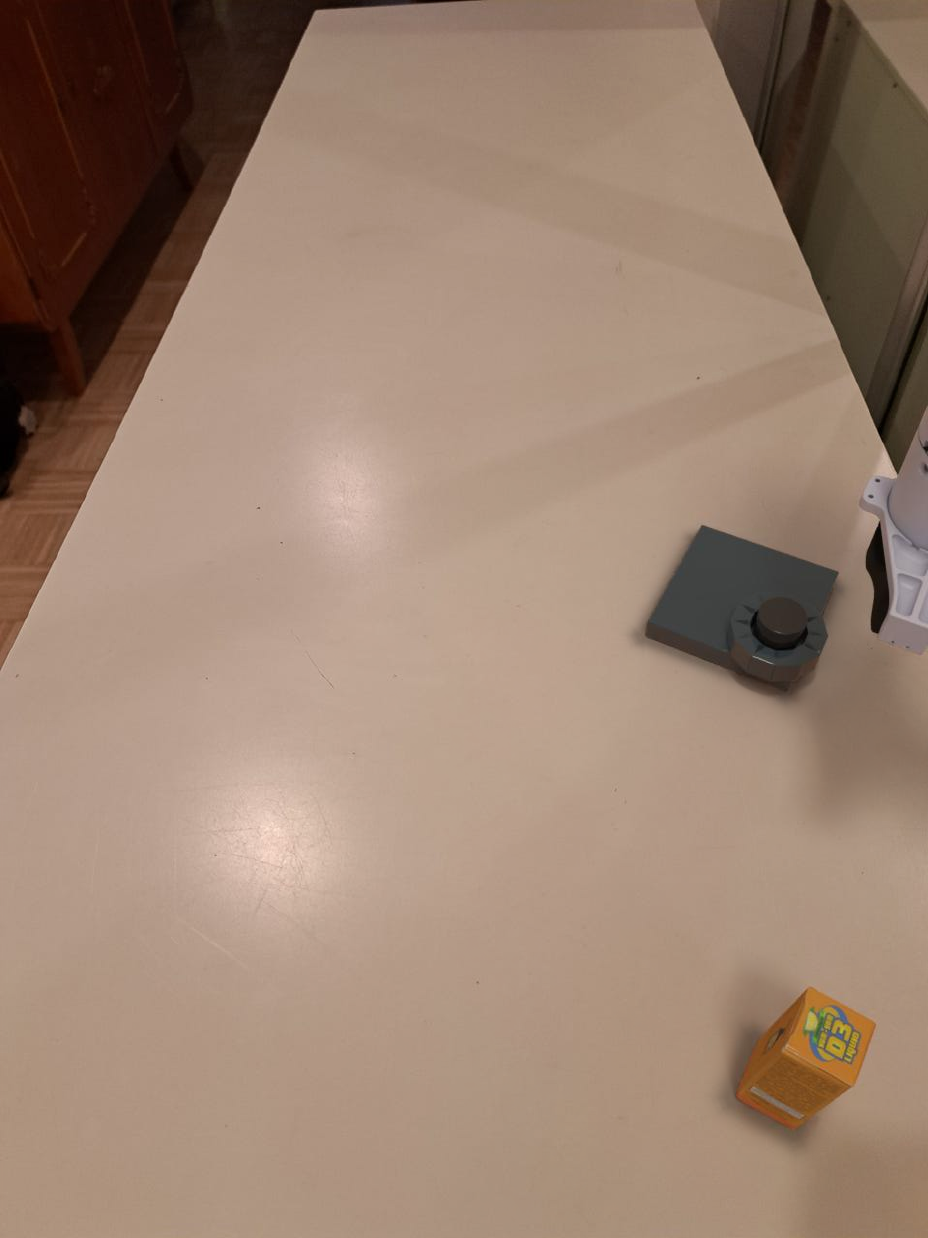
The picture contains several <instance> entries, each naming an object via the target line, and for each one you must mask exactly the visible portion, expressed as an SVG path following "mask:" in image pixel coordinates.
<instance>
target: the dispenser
mask: <svg viewBox="0 0 928 1238" xmlns="http://www.w3.org/2000/svg"><path fill="white" fill-rule="evenodd" d="M839 574H840V571H838V570H835V569H833V568H830V567H826V566H824V565H821V564H818V563H815V562H812V561H809V560H807V559H803V558H800V557H798V556H794V555H793V554H792V555H791V554H789V553H786V552H783V551H780V550H777V549H774V548H771V547H768V546H766V545H763V544H759V543H757V542H754V541H751V540H748V539H745V538H742V537H740V536H736V535H733V534H731V533H727V532H725V531H722V530H719V529H716V528H713V527H710V526H707V525H705V524H701V525H700V527H699V529H698V531H697V533H696V534H695V536H694V538H693V540H692V541H691V543H690V545H689V547H688V548H687V550H686V551H685V553H684V556H683V557H682V559H681V561H680V563H679V565H678V566H677V568H676V570H675V572H674V573H673V576H672V577H671V578H670V580H669V582H668V584H667V586H666V588H665V590H664V591H663V593H662V595H661V597H660V598H659V600H658V602H657V604H656V606H655V608H654V609H653V611H652V613H651V615H650V616H649V618H648V620H647V623H646V628H645V629H646V631H645V636H646V637H647V638H649V639H652V640H654V641H657V642H659V643H662V644H665V645H667V646H670V647H673V648H674V649H677V650H680V651H683V652H685V653H688V654H690V655H693V656H695V657H698V658H699V659H702V660H705V661H707V662H710V663H713V664H716V665H718V666H720V667H723V668H726V669H728V670H731V671H733V672H735V673H738V674H740V675H744V676H745V677H748V678H751V679H753V680H756V681H759V682H761V683H763V684H766V685H769V686H771V687H774V688H776V689H778V690H782V691H783V692H787V693H788V692H790V689H791V687H792V684H793V682H794V681H797V680H799V679H801V678H802V677H804V676H806V675H808V674H810V673H811V672H813V671H814V670H815V669H816V667H817V664H818V662H819V660H820V657H821V655H822V653H823V650H824V648H825V646H826V643H827V640H828V638H829V634H828V630H827V627H826V624H825V620H824V617H823V616H822V615H823V612H824V610H825V608H826V605H827V603H828V601H829V598H830V596H831V594H832V592H833V590H834V586H835V584H836V582H837V579H838V576H839ZM774 597H786V598H789V599H792V600H794V601H796V602H798V603H799V604H800V605H801V606H802V607H803V608H804V609H805V611H806V613H807V617H808V621H807V624H806V627H805V630H804V632H803V635H802V638H801V640H800V642H799V643H798V644H797V645H796V646H794V647H793V648H790V649H787V650H776V649H772V648H769V647H767V646H765V645H764V644H762V643H761V642H760V641H759V640H758V639H757V637H756V635H755V633H754V624H755V621H756V617H757V614H758V611H759V608H760V606H761V605H762V603H763V602H765V601H766V600H768V599H770V598H774Z"/></svg>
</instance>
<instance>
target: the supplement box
mask: <svg viewBox="0 0 928 1238" xmlns="http://www.w3.org/2000/svg"><path fill="white" fill-rule="evenodd" d="M876 1027H877V1024H876V1021H873V1020H871V1019H870V1018H868V1017H866V1016H865V1015H863V1014H861V1013H860V1012H858V1011H856V1010H854V1009H853V1008H851V1007H849V1006H847V1005H845V1004H843V1003H841V1002H840V1001H837V1000H836V999H834V998H832V997H831V996H829V995H827V994H825V993H823V992H822V991H819V990H818V989H816V988H814V987H812V986H808V987H807V988H806V989H805V990H804V991H803V992H802V993H801V994H800V995H799V996H798V997H797V998H796V999H795V1001H794V1002H793V1003H792V1004H791V1005H790V1006H789V1007H788V1008H787V1009H786V1010H785V1011H784V1012H783V1013H782V1014H781V1015H780V1016H779V1017H778V1018H777V1019H776V1020H775V1021H774V1022H773V1023H772V1025H771V1026H770V1027H769V1028H768V1029H767V1030H766V1031H765V1032H764V1033H763V1035H762V1036H760V1038H759V1039H758V1040H757V1041H756V1043H755V1046H754V1048H753V1050H752V1053H751V1055H750V1057H749V1059H748V1062H747V1064H746V1067H745V1070H744V1072H743V1074H742V1077H741V1079H740V1083H739V1084H738V1087H737V1091H736V1092H735V1093H736V1094H735V1096H736V1098H737V1099H738V1100H740V1101H741V1102H743V1103H745V1104H746V1105H748V1106H750V1107H751V1108H753V1109H755V1110H757V1111H759V1112H760V1113H763V1114H764V1115H766V1116H768V1117H770V1119H773V1120H775V1121H776V1122H779V1123H781V1124H782V1125H784V1126H786V1127H787V1128H789V1129H791V1130H793V1131H794V1130H796V1129H798V1128H799V1126H801V1125H802V1124H803V1123H805V1122H807V1120H809V1119H810V1118H812V1117H813V1116H814V1115H816V1114H818V1113H819V1112H820V1111H822V1110H823V1109H824V1108H826V1107H827V1106H829V1105H830V1104H831V1103H833V1102H834V1101H836V1099H838V1098H839V1097H840V1096H842V1095H843V1094H844V1093H846V1092H847V1091H849V1090H850V1089H851V1088H854V1087H855V1086H856V1084H857V1080H858V1078H859V1075H860V1072H861V1069H862V1066H863V1064H864V1061H865V1058H866V1057H867V1053H868V1050H869V1047H870V1044H871V1041H872V1038H873V1035H874V1032H875V1030H876Z"/></svg>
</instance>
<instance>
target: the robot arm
mask: <svg viewBox="0 0 928 1238" xmlns="http://www.w3.org/2000/svg"><path fill="white" fill-rule="evenodd" d="M915 431H916V432H915V433H914V435H913V439H912V441H911V443H910V446H909V448H908V451H907V453H906V455H905V457H904V460H903V462H902V465H901V467H900V469H899V472H898V474H897V475H896V478H895V477H893V478H891V477H886V476H884V475H878V474H875V475H873V476H870V478H868V480H867V483H866V485H865V486H864V488H863V491H862V494H861V496H860V498H859V503H858V505H859V507H860V508H861V510H862V511H864V512H866V513H869V514H872V515H875V516H876V517H877V518H878V519H879V521H878V522H877V526H876V528H875V531H874V533H873V535H872V538H871V540H870V543H869V545H868V547H867V550H866V553H865V570H866V571H867V574H868V575H869V577H870V579H871V582H872V588H873V597H872V598H873V599H872V604H871V605H872V606H871V611H870V612H871V613H870V631H871V632H872V633H874V634H877V636H876V639H877V640H879V641H881V642H884V643H887V644H890V645H891V646H894V647H896V648H899V649H902V650H905V651H908V652H911V653H914V654H917V655H919V656H921V655H922V656H923V654H924V653H925V651H926V650H927V647H928V405H927V406H926V407H925V410H924V413H923V414H922V417H921V420H920V422H919V425H918V427H917V430H915Z"/></svg>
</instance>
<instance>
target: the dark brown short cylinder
mask: <svg viewBox="0 0 928 1238" xmlns="http://www.w3.org/2000/svg"><path fill="white" fill-rule="evenodd" d="M807 621H808V617H807V613H806V611H805V609H804V608H803V607H802V606H801V605H800V604H799V603H798V602H796V601H794V600H792V599H789V598H786V597H774V598H770V599H768V600H766V601H765V602H763V603H762V605H761V606H760V608H759V611H758V614H757V617H756V621H755V624H754V633H755V635H756V637H757V639H758V640H759V641H760V642H761V643H762V644H764V645H765V646H767V647H769V648H772V649H776V650H787V649H790V648H793V647H794V646H796V645H797V644H798V643H799V642H800V640H801V638H802V635H803V632H804V630H805V627H806V624H807Z"/></svg>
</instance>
